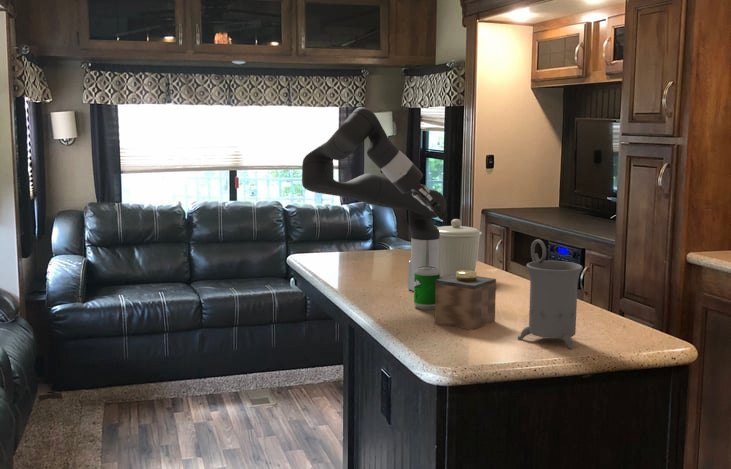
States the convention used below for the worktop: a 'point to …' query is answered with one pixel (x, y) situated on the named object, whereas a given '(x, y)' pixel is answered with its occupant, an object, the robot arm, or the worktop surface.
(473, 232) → the canister
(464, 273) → the brass round peg
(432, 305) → the soda can
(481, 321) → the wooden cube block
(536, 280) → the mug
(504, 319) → the worktop surface
